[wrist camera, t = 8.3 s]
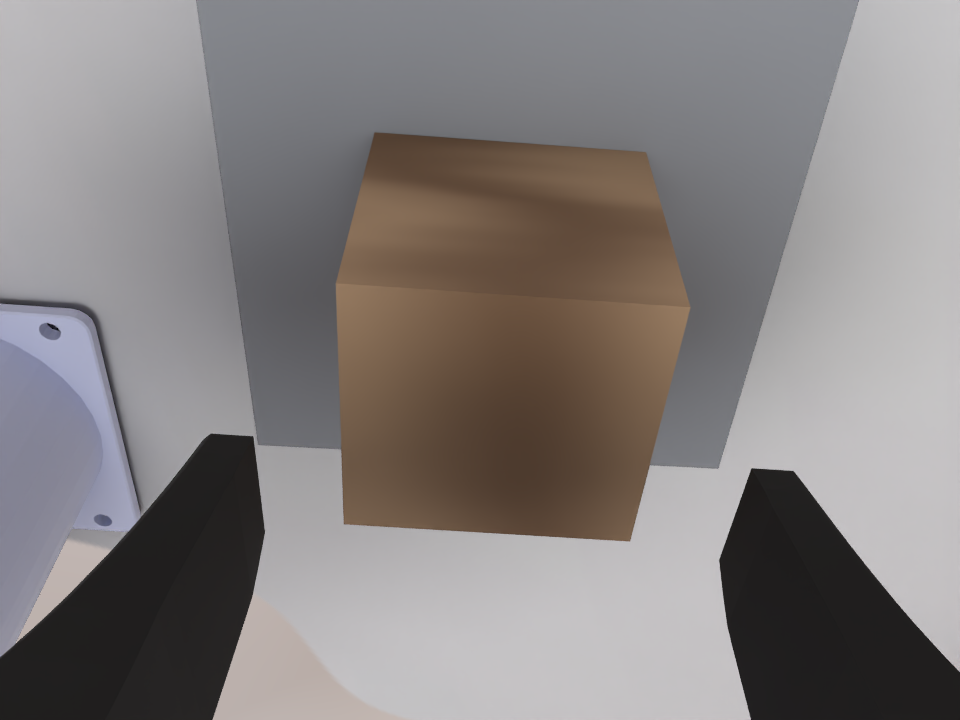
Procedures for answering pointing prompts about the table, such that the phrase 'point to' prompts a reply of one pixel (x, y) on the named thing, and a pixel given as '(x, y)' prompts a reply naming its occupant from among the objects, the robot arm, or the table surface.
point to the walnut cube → (504, 337)
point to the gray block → (520, 119)
